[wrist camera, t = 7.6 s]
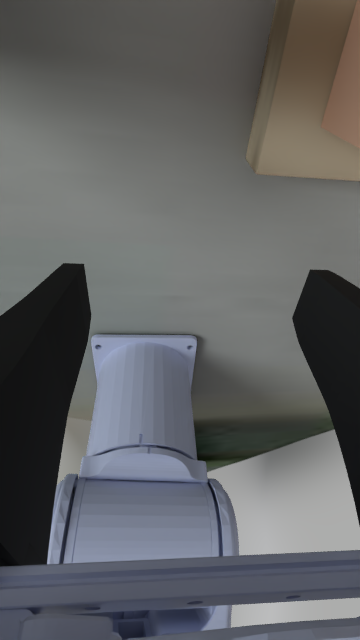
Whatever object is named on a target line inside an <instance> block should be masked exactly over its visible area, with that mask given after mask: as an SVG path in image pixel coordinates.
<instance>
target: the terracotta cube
mask: <svg viewBox="0 0 360 640" xmlns="http://www.w3.org/2000/svg"><path fill="white" fill-rule="evenodd" d="M321 128H323V129H325V130H327V131H329V132H331V133H332V134H334V135H336V136H338V137H340V138H341V139H343V140H345V141H347V142H349V143H351V144H352V145H354V146H356V147H358V148H360V0H357V2H356V6H355V9H354V13H353V16H352V20H351V23H350V27H349V30H348V34H347V37H346V41H345V44H344V47H343V51H342V54H341V58H340V61H339V65H338V68H337V72H336V75H335V79H334V82H333V86H332V89H331V93H330V96H329V100H328V103H327V107H326V110H325V114H324V117H323V121H322V124H321Z"/></svg>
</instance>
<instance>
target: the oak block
mask: <svg viewBox="0 0 360 640" xmlns="http://www.w3.org/2000/svg"><path fill="white" fill-rule="evenodd" d="M356 2H357V0H276V5H275V10H274V15H273V20H272V25H271V30H270V36H269V41H268V46H267V51H266V56H265V61H264V66H263V72H262V77H261V82H260V87H259V92H258V97H257V102H256V108H255V113H254V118H253V123H252V128H251V133H250V138H249V144H248V149H247V154H246V160H247V162H248V163H249V164H250V166H251V167H252V169H253V170H254V172H255V173H256V174H259V175H274V176H289V177H304V178H319V179H334V180H349V181H360V148H358V147H356V146H354V145H352V144H351V143H349V142H347V141H345V140H343V139H341V138H340V137H338V136H336V135H334V134H332V133H331V132H329V131H327V130H325V129H323V128H321V124H322V121H323V117H324V114H325V110H326V107H327V103H328V100H329V96H330V93H331V89H332V86H333V82H334V79H335V75H336V72H337V68H338V65H339V61H340V58H341V54H342V51H343V47H344V44H345V41H346V37H347V34H348V30H349V27H350V23H351V20H352V16H353V13H354V9H355V6H356Z"/></svg>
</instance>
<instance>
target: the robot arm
mask: <svg viewBox="0 0 360 640" xmlns="http://www.w3.org/2000/svg"><path fill="white" fill-rule="evenodd" d="M292 319H293V323H294V327H295V331H296V334H297V338H298V341H299V344H300V347H301V349H302V351H303V353H304V356H305V358H306V360H307V363H308V365H309V367H310V369H311V371H312V374H313V376H314V378H315V380H316V382H317V385H318V387H319V389H320V391H321V393H322V396H323V398H324V400H325V403H326V405H327V408H328V410H329V413H330V416H331V419H332V422H333V425H334V428H335V432H336V435H337V438H338V441H339V444H340V448H341V452H342V455H343V458H344V462H345V465H346V469H347V473H348V477H349V481H350V485H351V489H352V493H353V497H354V501H355V506H356V511H357V515H358V520H359V525H360V289H359V288H358V287H356V286H355V285H353V284H352V283H350V282H348V281H347V280H345V279H344V278H342V277H340V276H338V275H337V274H335V273H333V272H331V271H329V270H310V271H309V274H308V277H307V280H306V282H305V285H304V288H303V290H302V293H301V296H300V298H299V301H298V304H297V307H296V309H295V312H294V315H293V317H292ZM90 321H91V310H90V303H89V296H88V289H87V282H86V275H85V268H84V264H69V263H63V264H62V265H61V266H60V267H59V268H57V269H56V270H55V271H54V272H53V273H52V274H51V275H50V276H49V277H47V278H46V279H45V280H44V281H43V282H42V283H41V284H40V285H38V286H37V287H36V288H35V289H34V290H33V291H31V292H30V293H29V294H28V295H27V296H26V297H24V298H23V299H22V300H21V301H19V302H18V303H17V304H15V305H14V306H13V307H12V308H10V309H9V310H8V311H6V312H5V313H4V314H3V315H1V316H0V640H360V617H357V618H346V619H331V620H315V621H300V622H287V623H276V624H265V625H252V626H242V627H233V628H231V610H232V605H238V604H255V603H272V602H290V601H307V600H324V599H342V598H358V597H360V550H351V551H328V552H309V553H308V552H307V553H285V554H265V555H241V556H239V542H238V532H237V524H236V518H235V514H234V510H233V506H232V503H231V500H230V498H229V496H228V494H227V493H226V492H225V490H224V489H223V487H222V485H221V484H220V483H219V482H218V481H217V480H216V479H207V470H206V462H204V461H197V455H196V444H195V434H194V423H193V413H192V402H191V385H192V378H193V370H194V363H195V355H196V348H197V338H196V337H195V336H192V335H102V334H97V335H94V336H93V337H92V339H91V345H92V351H93V358H94V364H95V371H96V377H97V384H98V387H97V393H96V399H95V405H94V411H93V418H92V424H91V430H90V436H89V442H88V448H87V454H86V456H83V458H82V463H81V468H80V474H79V480H78V474H68V475H66V477H65V478H64V480H62V481H61V482H60V483H59V484H58V485H57V478H58V471H59V465H60V459H61V452H62V445H63V439H64V434H65V428H66V421H67V416H68V411H69V407H70V403H71V399H72V395H73V392H74V388H75V385H76V381H77V378H78V374H79V371H80V367H81V364H82V360H83V357H84V353H85V349H86V346H87V342H88V336H89V329H90ZM97 345H101V346H97ZM190 345H191V346H190ZM189 346H190V347H189Z"/></svg>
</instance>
